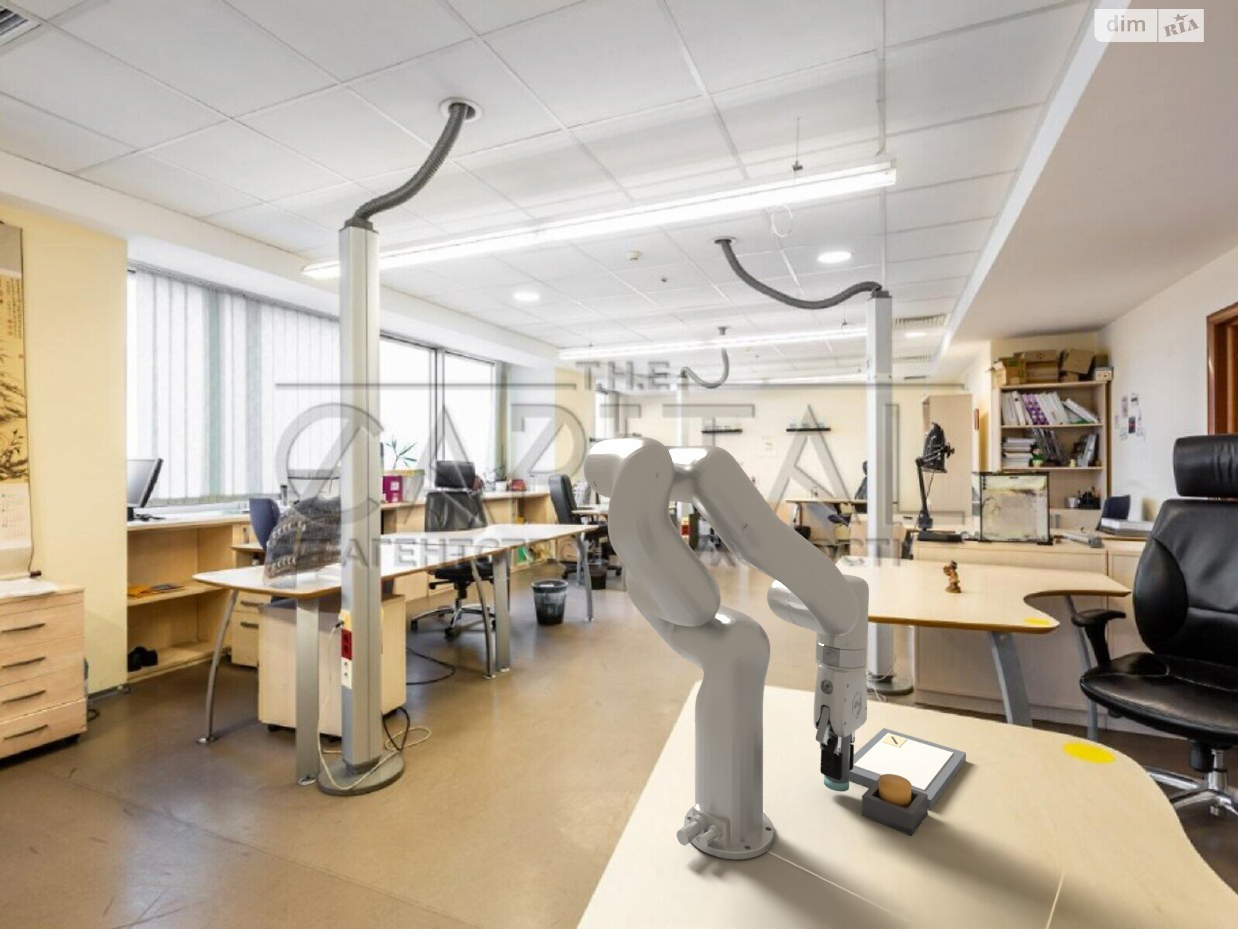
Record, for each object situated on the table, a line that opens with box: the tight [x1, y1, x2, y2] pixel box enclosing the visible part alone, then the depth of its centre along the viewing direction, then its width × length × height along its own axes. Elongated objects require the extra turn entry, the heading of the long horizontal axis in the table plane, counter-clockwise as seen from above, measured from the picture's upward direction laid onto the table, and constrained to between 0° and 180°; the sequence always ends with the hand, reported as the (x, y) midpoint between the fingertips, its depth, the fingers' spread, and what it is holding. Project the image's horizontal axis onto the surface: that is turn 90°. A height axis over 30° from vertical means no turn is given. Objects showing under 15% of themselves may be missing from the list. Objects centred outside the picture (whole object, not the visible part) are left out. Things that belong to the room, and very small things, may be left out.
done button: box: [879, 774, 911, 806], centre depth 90 cm, size 4×4×2 cm
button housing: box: [861, 778, 929, 837], centre depth 90 cm, size 7×7×3 cm
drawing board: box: [849, 727, 967, 811], centre depth 103 cm, size 20×14×2 cm
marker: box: [823, 727, 851, 793], centre depth 95 cm, size 4×4×11 cm
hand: (836, 770), depth 95 cm, fingers closed on marker, 3 cm apart
